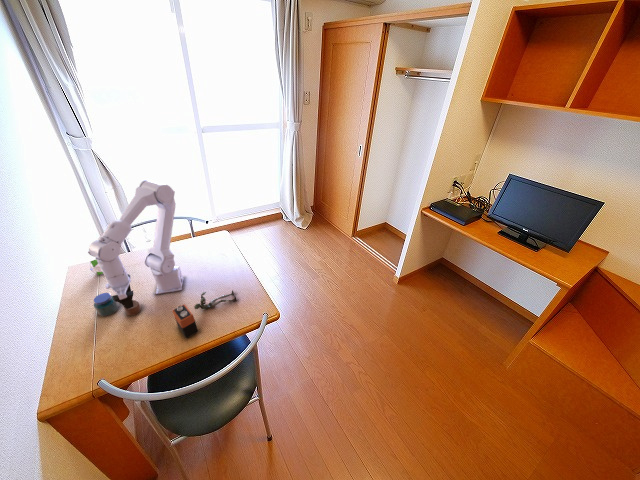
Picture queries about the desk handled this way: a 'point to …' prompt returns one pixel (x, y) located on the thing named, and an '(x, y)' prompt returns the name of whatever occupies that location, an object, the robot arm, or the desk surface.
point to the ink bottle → (105, 304)
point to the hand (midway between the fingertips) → (129, 300)
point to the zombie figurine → (212, 303)
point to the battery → (185, 320)
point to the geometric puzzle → (96, 267)
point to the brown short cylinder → (133, 308)
